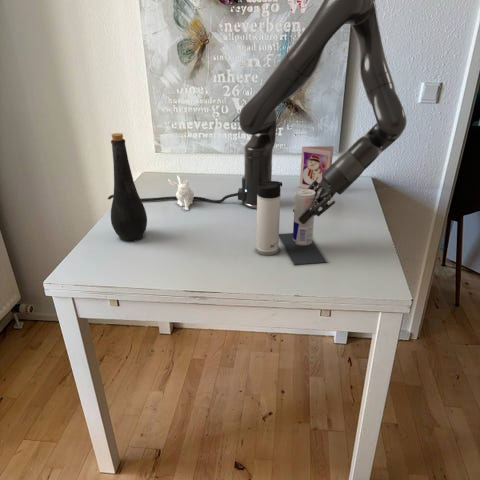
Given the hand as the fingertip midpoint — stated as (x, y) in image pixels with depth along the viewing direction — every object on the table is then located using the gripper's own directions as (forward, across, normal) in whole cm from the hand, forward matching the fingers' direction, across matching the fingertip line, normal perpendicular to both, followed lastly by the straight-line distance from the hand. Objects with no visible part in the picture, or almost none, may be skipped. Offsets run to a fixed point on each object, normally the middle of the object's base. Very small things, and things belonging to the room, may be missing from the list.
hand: (297, 217), depth 136 cm
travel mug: (+13, 0, +1) cm, 13 cm away
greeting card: (-8, -49, +22) cm, 54 cm away
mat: (+6, 0, +8) cm, 10 cm away
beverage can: (+4, 0, +7) cm, 8 cm away
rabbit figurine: (+28, -41, -15) cm, 52 cm away
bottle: (+40, -16, -27) cm, 51 cm away
